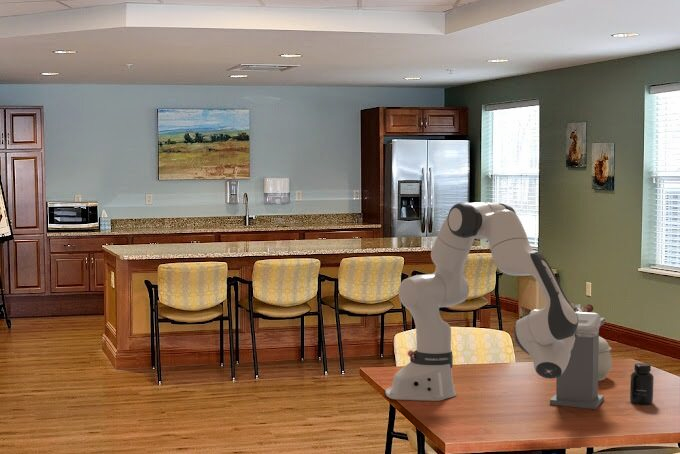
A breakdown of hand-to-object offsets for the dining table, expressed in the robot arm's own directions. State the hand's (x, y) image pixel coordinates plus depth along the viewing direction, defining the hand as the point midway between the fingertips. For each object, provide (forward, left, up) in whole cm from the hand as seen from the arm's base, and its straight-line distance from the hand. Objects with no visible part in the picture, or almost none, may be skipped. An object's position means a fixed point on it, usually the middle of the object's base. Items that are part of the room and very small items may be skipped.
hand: (568, 305), depth 291 cm
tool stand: (+7, +13, -32) cm, 35 cm away
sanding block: (+3, +6, -4) cm, 7 cm away
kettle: (+21, +50, -32) cm, 63 cm away
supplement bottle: (+27, +12, -32) cm, 44 cm away
